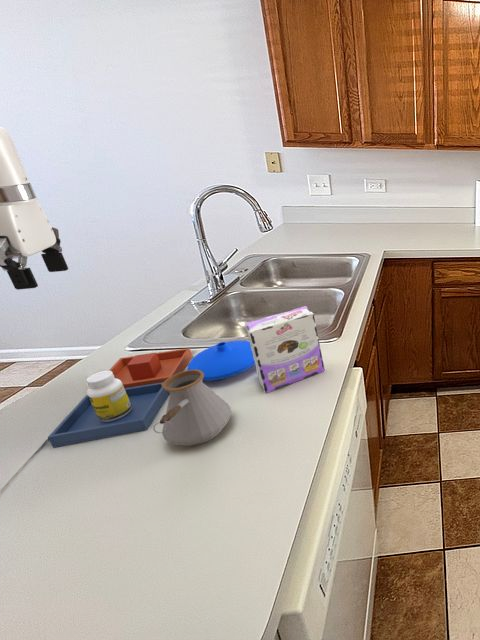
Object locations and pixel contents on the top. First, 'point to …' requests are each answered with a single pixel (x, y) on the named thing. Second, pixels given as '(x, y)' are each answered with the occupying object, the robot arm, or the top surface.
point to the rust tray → (170, 366)
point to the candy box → (285, 348)
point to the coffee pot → (192, 410)
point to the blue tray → (89, 427)
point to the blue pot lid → (223, 360)
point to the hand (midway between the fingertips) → (44, 279)
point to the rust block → (144, 366)
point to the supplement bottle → (108, 396)
